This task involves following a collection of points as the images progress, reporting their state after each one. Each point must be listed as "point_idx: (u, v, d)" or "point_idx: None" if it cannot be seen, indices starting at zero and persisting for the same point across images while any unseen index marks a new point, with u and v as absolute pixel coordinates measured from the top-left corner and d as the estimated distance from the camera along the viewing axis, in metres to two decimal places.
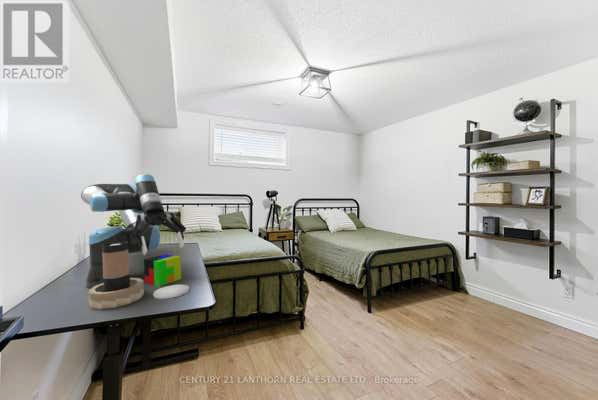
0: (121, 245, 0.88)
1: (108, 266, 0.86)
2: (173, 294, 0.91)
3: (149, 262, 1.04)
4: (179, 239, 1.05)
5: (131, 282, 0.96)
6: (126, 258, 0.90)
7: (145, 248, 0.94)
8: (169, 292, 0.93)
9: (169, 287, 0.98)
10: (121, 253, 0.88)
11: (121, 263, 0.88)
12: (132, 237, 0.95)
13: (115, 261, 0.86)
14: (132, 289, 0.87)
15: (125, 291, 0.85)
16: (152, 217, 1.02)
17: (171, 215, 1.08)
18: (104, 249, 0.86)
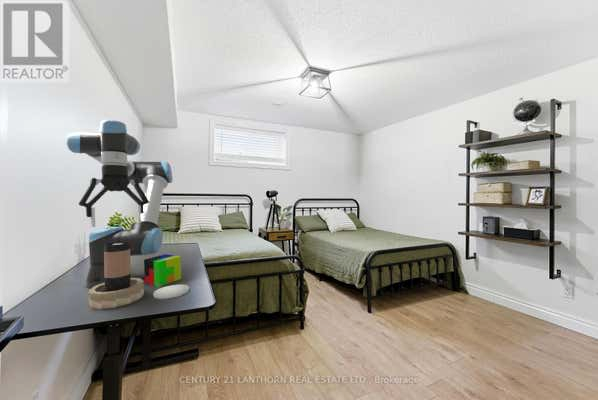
0: (123, 245, 0.88)
1: (109, 265, 0.86)
2: (173, 294, 0.91)
3: (149, 262, 1.04)
4: (137, 213, 0.95)
5: (131, 282, 0.96)
6: (128, 258, 0.90)
7: (93, 223, 0.84)
8: (169, 292, 0.93)
9: (169, 287, 0.98)
10: (123, 252, 0.88)
11: (122, 262, 0.88)
12: (80, 205, 0.83)
13: (116, 260, 0.87)
14: (132, 289, 0.87)
15: (125, 291, 0.85)
16: (110, 184, 0.87)
17: (135, 183, 0.93)
18: (106, 248, 0.86)
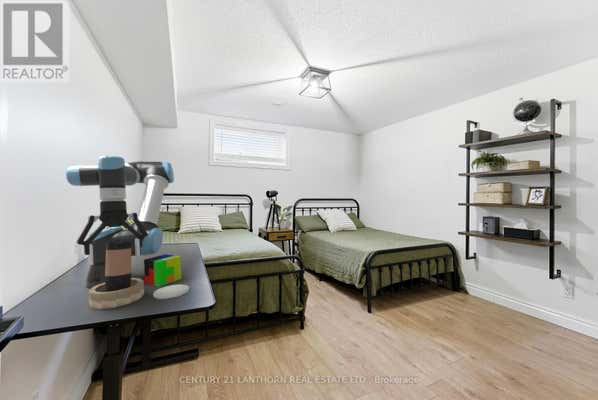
0: (125, 243, 0.90)
1: (111, 263, 0.87)
2: (173, 294, 0.91)
3: (149, 262, 1.04)
4: (136, 247, 0.94)
5: (131, 282, 0.96)
6: (129, 256, 0.91)
7: (91, 261, 0.83)
8: (169, 292, 0.93)
9: (169, 287, 0.98)
10: (125, 251, 0.89)
11: (124, 260, 0.89)
12: (78, 243, 0.82)
13: (118, 258, 0.88)
14: (132, 289, 0.87)
15: (125, 291, 0.85)
16: (108, 220, 0.86)
17: (134, 216, 0.93)
18: (108, 246, 0.88)
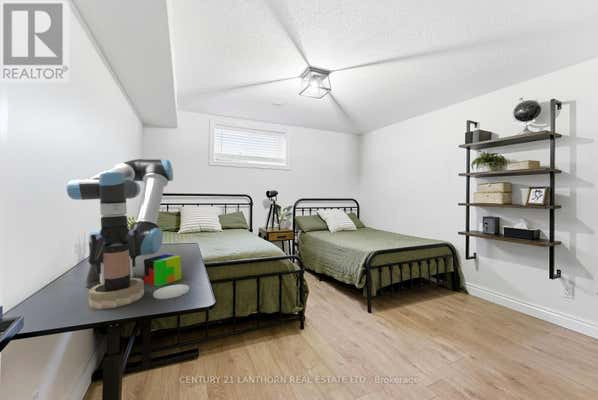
0: (122, 245, 0.87)
1: (109, 267, 0.85)
2: (173, 294, 0.91)
3: (149, 262, 1.04)
4: None
5: (131, 282, 0.96)
6: (127, 258, 0.89)
7: (102, 279, 0.86)
8: (169, 292, 0.93)
9: (169, 287, 0.98)
10: (122, 253, 0.87)
11: (122, 263, 0.87)
12: None
13: (116, 261, 0.86)
14: (132, 289, 0.87)
15: (125, 291, 0.85)
16: (110, 236, 0.87)
17: (134, 233, 0.93)
18: (105, 249, 0.85)
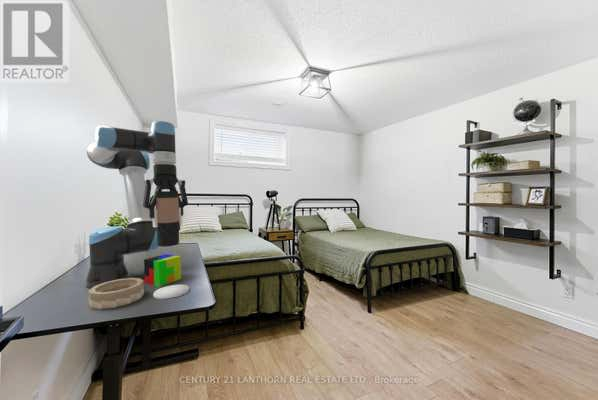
0: (174, 192, 0.91)
1: (162, 211, 0.89)
2: (173, 294, 0.91)
3: (149, 262, 1.04)
4: None
5: (131, 282, 0.96)
6: (177, 205, 0.93)
7: (156, 223, 0.90)
8: (169, 292, 0.93)
9: (169, 287, 0.98)
10: (174, 199, 0.91)
11: (173, 209, 0.91)
12: None
13: (168, 206, 0.90)
14: (132, 289, 0.87)
15: (125, 291, 0.85)
16: (162, 183, 0.91)
17: (182, 183, 0.97)
18: (158, 194, 0.89)
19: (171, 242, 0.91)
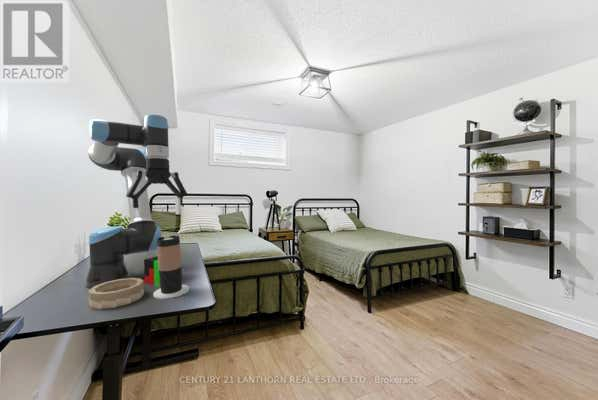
0: (175, 239, 0.92)
1: (164, 259, 0.90)
2: (173, 294, 0.91)
3: (149, 262, 1.04)
4: (177, 205, 0.98)
5: (131, 282, 0.96)
6: (179, 251, 0.94)
7: (140, 214, 0.88)
8: None
9: None
10: (175, 246, 0.92)
11: (175, 256, 0.92)
12: (128, 196, 0.86)
13: (170, 254, 0.91)
14: (132, 289, 0.87)
15: (125, 291, 0.85)
16: (154, 177, 0.91)
17: (175, 176, 0.97)
18: (160, 243, 0.90)
19: (174, 289, 0.92)
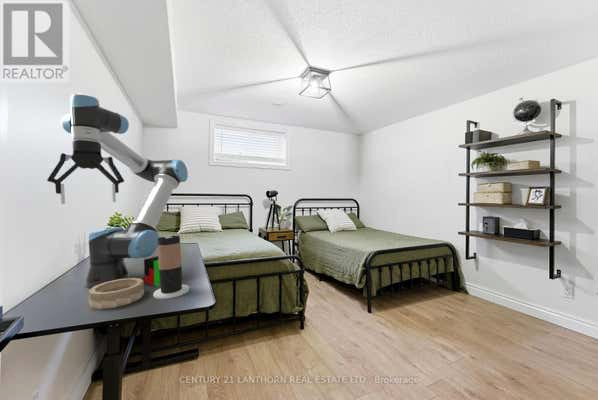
0: (175, 238, 0.93)
1: (164, 258, 0.91)
2: (173, 294, 0.91)
3: (149, 262, 1.04)
4: (112, 192, 0.92)
5: (131, 282, 0.96)
6: (179, 250, 0.95)
7: (63, 199, 0.81)
8: None
9: None
10: (176, 245, 0.93)
11: (176, 254, 0.93)
12: (49, 181, 0.80)
13: (170, 252, 0.92)
14: (132, 289, 0.87)
15: (125, 291, 0.85)
16: (81, 160, 0.84)
17: (109, 160, 0.91)
18: (160, 242, 0.92)
19: (174, 288, 0.92)
